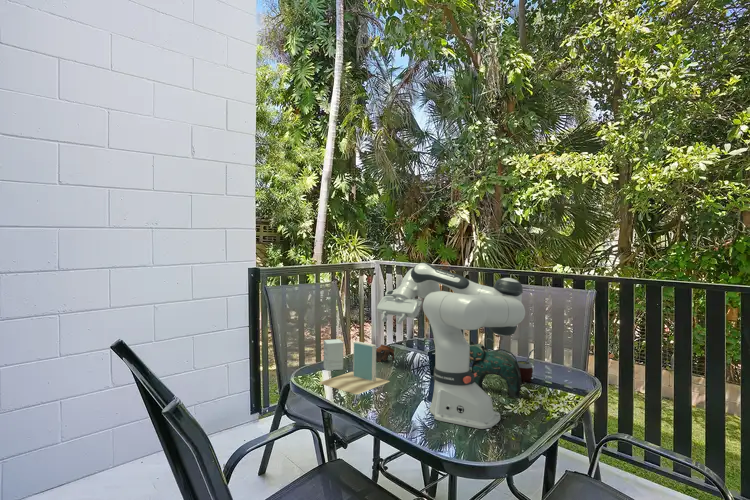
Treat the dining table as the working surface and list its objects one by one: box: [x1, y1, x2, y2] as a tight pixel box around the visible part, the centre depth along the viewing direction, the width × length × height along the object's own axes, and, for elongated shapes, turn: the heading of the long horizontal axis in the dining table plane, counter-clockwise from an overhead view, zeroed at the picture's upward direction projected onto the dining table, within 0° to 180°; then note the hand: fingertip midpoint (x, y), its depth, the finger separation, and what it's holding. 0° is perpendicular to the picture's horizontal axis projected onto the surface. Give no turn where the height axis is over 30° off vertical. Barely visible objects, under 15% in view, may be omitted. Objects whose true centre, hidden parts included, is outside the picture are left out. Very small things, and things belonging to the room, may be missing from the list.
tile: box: [352, 341, 377, 382], centre depth 170 cm, size 10×2×14 cm, turn 52°
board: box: [318, 371, 391, 395], centre depth 165 cm, size 20×20×1 cm
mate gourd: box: [517, 347, 537, 385], centre depth 171 cm, size 8×8×15 cm
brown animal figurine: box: [376, 344, 395, 363], centre depth 202 cm, size 12×10×8 cm
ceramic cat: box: [469, 337, 522, 399], centre depth 160 cm, size 20×6×20 cm, turn 53°
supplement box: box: [323, 338, 344, 372], centre depth 185 cm, size 7×7×13 cm
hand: (390, 322), depth 184 cm, fingers open, 6 cm apart
